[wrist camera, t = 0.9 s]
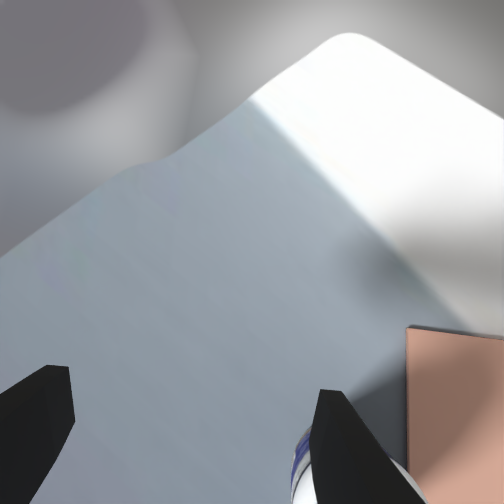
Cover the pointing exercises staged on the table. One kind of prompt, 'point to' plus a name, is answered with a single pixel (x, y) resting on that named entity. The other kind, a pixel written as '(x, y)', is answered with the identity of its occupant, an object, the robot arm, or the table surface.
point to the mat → (455, 417)
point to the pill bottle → (302, 474)
